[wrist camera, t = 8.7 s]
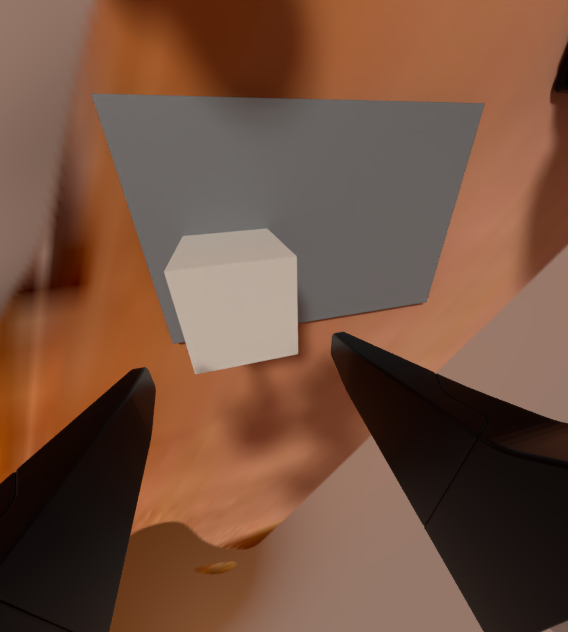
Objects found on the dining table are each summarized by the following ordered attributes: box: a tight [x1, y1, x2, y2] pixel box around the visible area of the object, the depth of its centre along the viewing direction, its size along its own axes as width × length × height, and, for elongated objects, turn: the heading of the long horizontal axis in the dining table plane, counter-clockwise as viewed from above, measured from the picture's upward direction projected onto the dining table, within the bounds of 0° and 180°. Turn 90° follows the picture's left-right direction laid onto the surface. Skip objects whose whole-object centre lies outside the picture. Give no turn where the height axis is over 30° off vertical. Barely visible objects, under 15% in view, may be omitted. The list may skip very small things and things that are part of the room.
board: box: [92, 94, 485, 344], centre depth 17 cm, size 22×14×1 cm, turn 92°
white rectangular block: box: [164, 229, 298, 374], centre depth 14 cm, size 5×5×7 cm
